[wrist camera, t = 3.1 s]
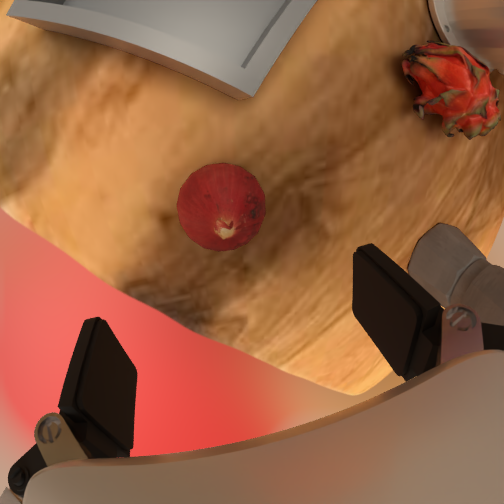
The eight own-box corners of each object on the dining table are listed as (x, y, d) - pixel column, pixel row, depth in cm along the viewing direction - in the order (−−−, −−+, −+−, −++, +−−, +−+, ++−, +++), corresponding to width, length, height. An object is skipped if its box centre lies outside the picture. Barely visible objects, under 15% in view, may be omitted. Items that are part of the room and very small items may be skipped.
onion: (251, 151, 21) (279, 173, 14) (256, 220, 24) (282, 270, 17) (175, 160, 21) (164, 188, 14) (186, 230, 23) (184, 285, 17)
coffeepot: (448, 192, 27) (575, 273, 11) (474, 231, 30) (570, 306, 15) (370, 300, 31) (459, 423, 16) (408, 321, 35) (482, 418, 19)
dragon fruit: (453, 123, 24) (369, 66, 22) (494, 75, 17) (410, 4, 15) (480, 174, 20) (386, 107, 18) (535, 120, 13) (446, 26, 11)
